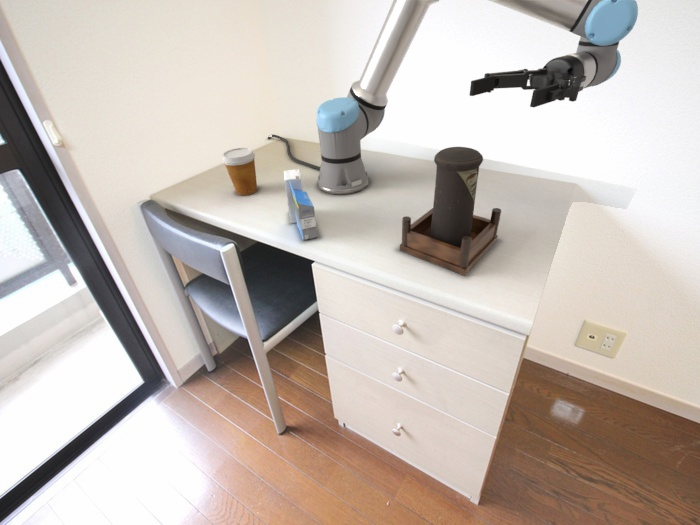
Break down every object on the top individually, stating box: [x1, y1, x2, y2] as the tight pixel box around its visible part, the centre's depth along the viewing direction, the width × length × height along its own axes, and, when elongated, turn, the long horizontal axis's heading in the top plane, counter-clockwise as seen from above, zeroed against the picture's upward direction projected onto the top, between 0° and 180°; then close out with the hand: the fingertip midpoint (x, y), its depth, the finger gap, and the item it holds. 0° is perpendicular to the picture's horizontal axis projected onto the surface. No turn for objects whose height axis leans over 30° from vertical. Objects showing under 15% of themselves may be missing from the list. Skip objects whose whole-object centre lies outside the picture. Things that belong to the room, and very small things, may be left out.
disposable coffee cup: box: [221, 147, 258, 196], centre depth 110 cm, size 10×10×12 cm
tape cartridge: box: [289, 180, 319, 241], centre depth 88 cm, size 9×4×12 cm, turn 17°
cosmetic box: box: [283, 168, 304, 224], centre depth 94 cm, size 6×4×12 cm
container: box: [430, 146, 484, 248], centre depth 75 cm, size 9×9×20 cm
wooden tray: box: [399, 207, 502, 277], centre depth 80 cm, size 16×16×8 cm
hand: (500, 93), depth 69 cm, fingers open, 13 cm apart
